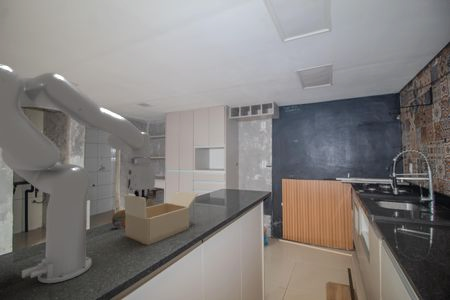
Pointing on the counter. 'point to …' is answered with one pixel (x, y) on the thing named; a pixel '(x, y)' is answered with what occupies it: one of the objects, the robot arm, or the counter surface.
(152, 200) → the coffee box
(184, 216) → the carton
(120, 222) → the tin
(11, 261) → the counter surface
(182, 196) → the far flap
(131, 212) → the near flap
